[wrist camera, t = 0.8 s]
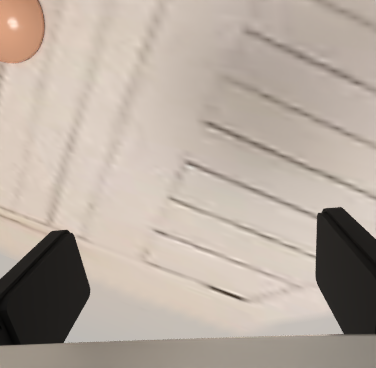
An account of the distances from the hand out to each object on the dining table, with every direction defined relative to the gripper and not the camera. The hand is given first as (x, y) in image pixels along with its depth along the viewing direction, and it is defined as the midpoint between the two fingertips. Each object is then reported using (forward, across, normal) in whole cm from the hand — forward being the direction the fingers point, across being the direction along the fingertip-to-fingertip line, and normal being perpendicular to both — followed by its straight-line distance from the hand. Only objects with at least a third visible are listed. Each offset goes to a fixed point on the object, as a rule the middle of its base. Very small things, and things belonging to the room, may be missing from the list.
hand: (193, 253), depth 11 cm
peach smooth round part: (+28, +23, -17) cm, 40 cm away
